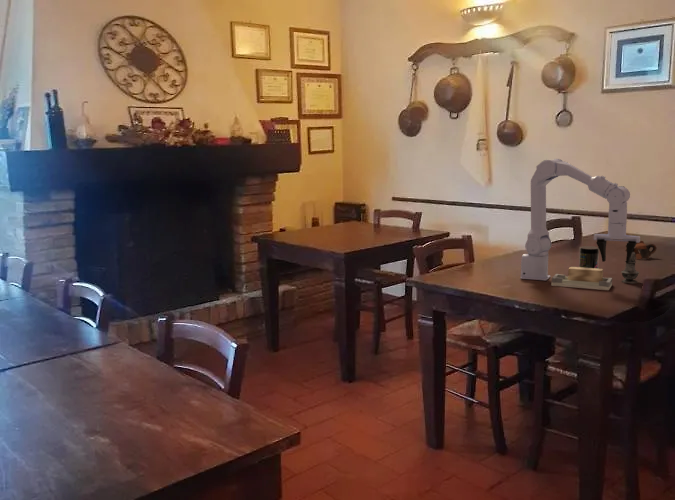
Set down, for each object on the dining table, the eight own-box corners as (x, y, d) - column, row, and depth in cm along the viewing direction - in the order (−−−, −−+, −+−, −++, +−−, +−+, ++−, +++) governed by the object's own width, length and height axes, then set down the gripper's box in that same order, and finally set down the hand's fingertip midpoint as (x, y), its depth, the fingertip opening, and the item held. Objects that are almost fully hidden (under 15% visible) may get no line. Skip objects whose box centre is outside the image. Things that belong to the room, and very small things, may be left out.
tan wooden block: (567, 282, 237) (568, 268, 236) (569, 280, 240) (570, 266, 240) (601, 285, 232) (601, 270, 231) (602, 282, 235) (603, 268, 234)
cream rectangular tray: (551, 285, 238) (551, 278, 237) (556, 280, 245) (556, 273, 245) (608, 290, 229) (609, 282, 228) (612, 284, 236) (612, 277, 236)
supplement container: (592, 277, 249) (593, 249, 247) (575, 275, 254) (576, 247, 252) (601, 274, 253) (602, 247, 252) (584, 272, 258) (585, 245, 257)
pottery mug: (630, 261, 281) (624, 242, 284) (628, 267, 289) (622, 249, 292) (660, 254, 278) (654, 235, 281) (658, 260, 286) (652, 242, 289)
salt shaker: (640, 283, 237) (642, 250, 235) (622, 283, 238) (624, 250, 236) (636, 280, 243) (638, 247, 241) (619, 279, 244) (620, 247, 242)
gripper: (642, 222, 228) (640, 261, 230) (597, 220, 235) (595, 258, 238) (639, 224, 222) (637, 265, 224) (592, 222, 229) (591, 261, 232)
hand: (615, 262), depth 230 cm, fingers open, 7 cm apart
